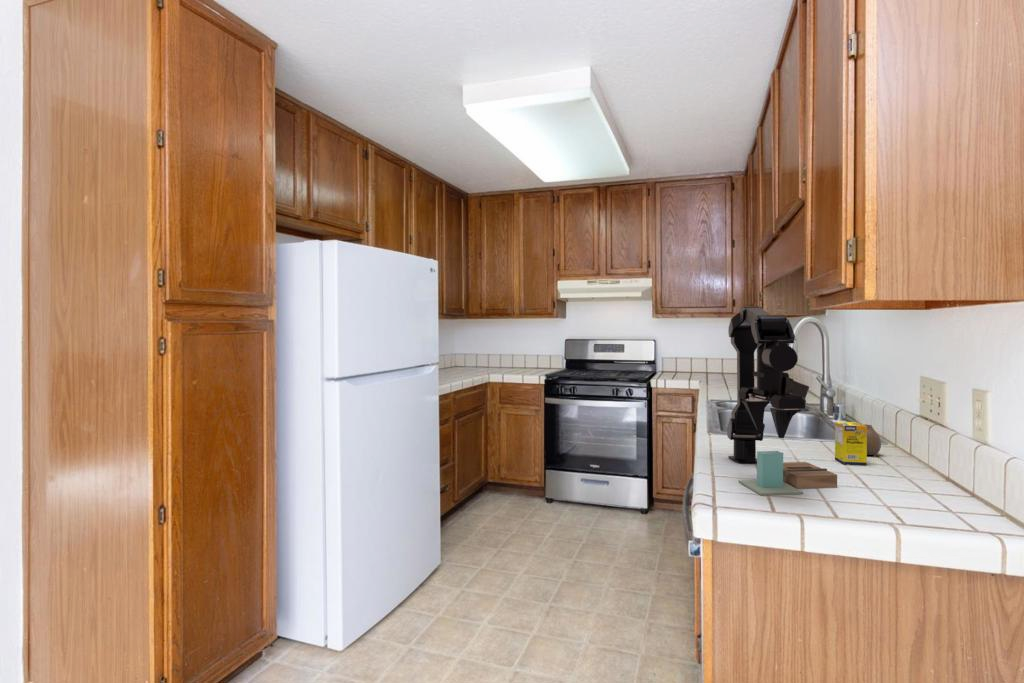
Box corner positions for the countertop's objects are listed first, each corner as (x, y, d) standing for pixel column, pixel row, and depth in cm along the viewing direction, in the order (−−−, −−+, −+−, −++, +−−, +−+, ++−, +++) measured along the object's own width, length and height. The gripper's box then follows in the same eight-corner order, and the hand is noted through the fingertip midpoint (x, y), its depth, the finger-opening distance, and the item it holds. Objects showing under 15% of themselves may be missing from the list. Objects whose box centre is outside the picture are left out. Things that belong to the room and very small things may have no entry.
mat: (738, 482, 128) (738, 480, 128) (777, 481, 129) (777, 479, 129) (760, 495, 118) (760, 493, 118) (803, 494, 119) (803, 491, 119)
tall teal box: (756, 484, 125) (757, 451, 125) (777, 484, 125) (777, 450, 125) (762, 487, 122) (762, 453, 122) (782, 487, 123) (783, 453, 123)
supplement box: (867, 465, 143) (867, 425, 142) (843, 464, 144) (843, 425, 143) (857, 460, 148) (858, 421, 148) (834, 459, 150) (834, 421, 149)
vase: (886, 457, 151) (887, 427, 151) (862, 457, 151) (862, 427, 151) (870, 451, 158) (870, 422, 158) (847, 451, 158) (847, 423, 158)
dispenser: (768, 474, 135) (768, 461, 135) (805, 473, 136) (805, 460, 136) (796, 488, 123) (796, 474, 123) (837, 487, 124) (837, 473, 124)
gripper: (829, 370, 114) (829, 441, 115) (780, 364, 133) (780, 425, 133) (780, 371, 114) (780, 442, 114) (737, 365, 132) (737, 426, 133)
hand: (769, 433), depth 123 cm, fingers open, 9 cm apart
